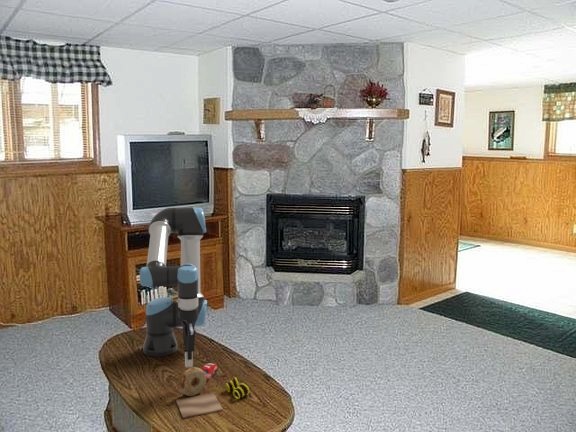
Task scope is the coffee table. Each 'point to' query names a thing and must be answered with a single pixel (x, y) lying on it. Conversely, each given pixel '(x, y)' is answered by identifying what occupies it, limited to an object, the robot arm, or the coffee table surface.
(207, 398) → the walnut board
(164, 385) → the coffee table surface
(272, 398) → the coffee table surface
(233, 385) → the opera glasses
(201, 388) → the stone disc
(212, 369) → the race car
